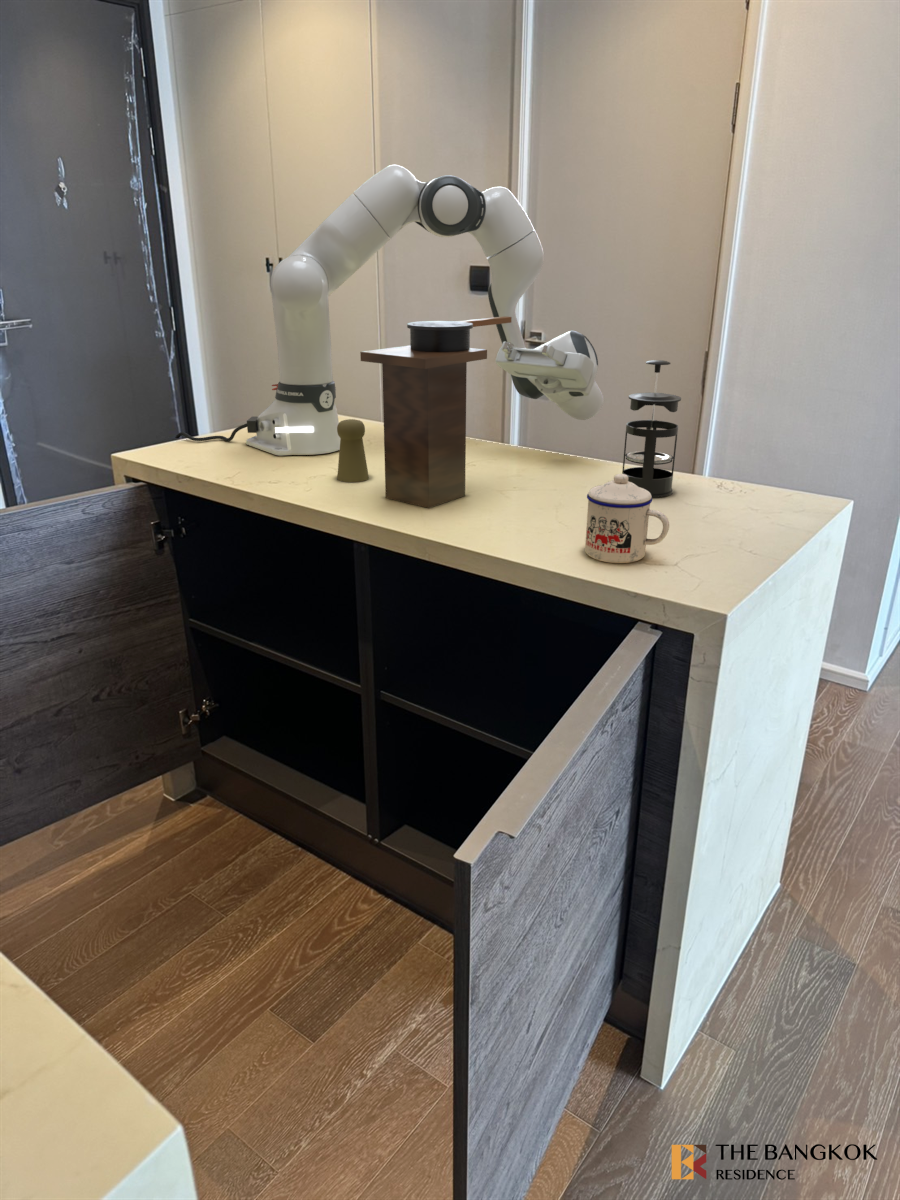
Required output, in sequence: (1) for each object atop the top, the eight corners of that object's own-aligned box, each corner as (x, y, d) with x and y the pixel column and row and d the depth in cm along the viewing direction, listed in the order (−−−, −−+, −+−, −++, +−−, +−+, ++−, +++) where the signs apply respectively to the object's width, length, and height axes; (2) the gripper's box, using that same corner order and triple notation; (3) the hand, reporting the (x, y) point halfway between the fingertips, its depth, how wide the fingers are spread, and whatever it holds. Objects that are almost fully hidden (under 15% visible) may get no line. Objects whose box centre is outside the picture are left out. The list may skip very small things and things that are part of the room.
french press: (673, 500, 151) (687, 365, 142) (618, 497, 152) (629, 363, 144) (671, 483, 161) (685, 356, 152) (620, 480, 163) (631, 355, 154)
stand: (365, 499, 151) (360, 351, 141) (424, 481, 162) (423, 343, 152) (426, 514, 142) (425, 358, 133) (484, 494, 154) (487, 349, 144)
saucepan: (393, 348, 145) (393, 324, 143) (483, 337, 163) (483, 314, 161) (444, 354, 138) (444, 328, 137) (531, 341, 156) (532, 318, 155)
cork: (367, 482, 161) (365, 423, 157) (335, 482, 161) (332, 423, 157) (370, 474, 167) (368, 417, 163) (339, 474, 167) (336, 417, 163)
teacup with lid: (573, 557, 124) (578, 477, 119) (597, 539, 131) (602, 464, 126) (654, 572, 118) (662, 490, 113) (674, 553, 125) (683, 475, 121)
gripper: (520, 358, 182) (486, 328, 170) (605, 366, 170) (575, 334, 159) (511, 386, 182) (476, 358, 170) (595, 396, 170) (565, 367, 158)
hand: (525, 346), depth 164 cm, fingers open, 8 cm apart
